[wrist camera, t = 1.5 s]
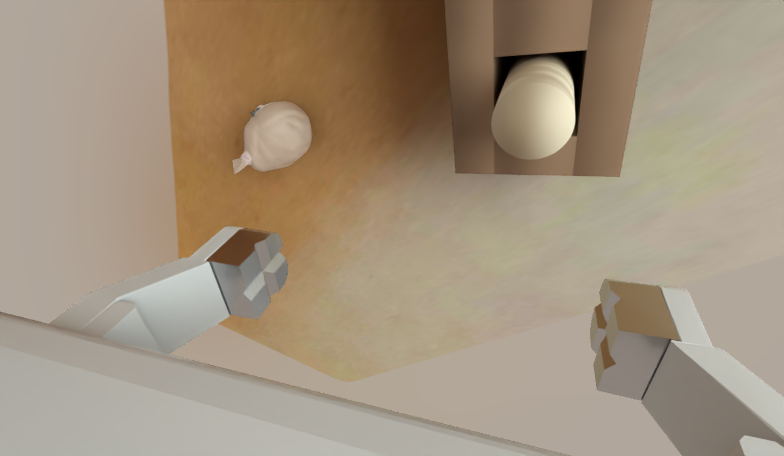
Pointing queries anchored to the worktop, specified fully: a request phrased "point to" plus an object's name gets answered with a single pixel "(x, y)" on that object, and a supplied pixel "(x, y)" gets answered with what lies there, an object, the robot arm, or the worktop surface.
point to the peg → (535, 106)
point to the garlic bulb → (275, 137)
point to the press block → (535, 36)
